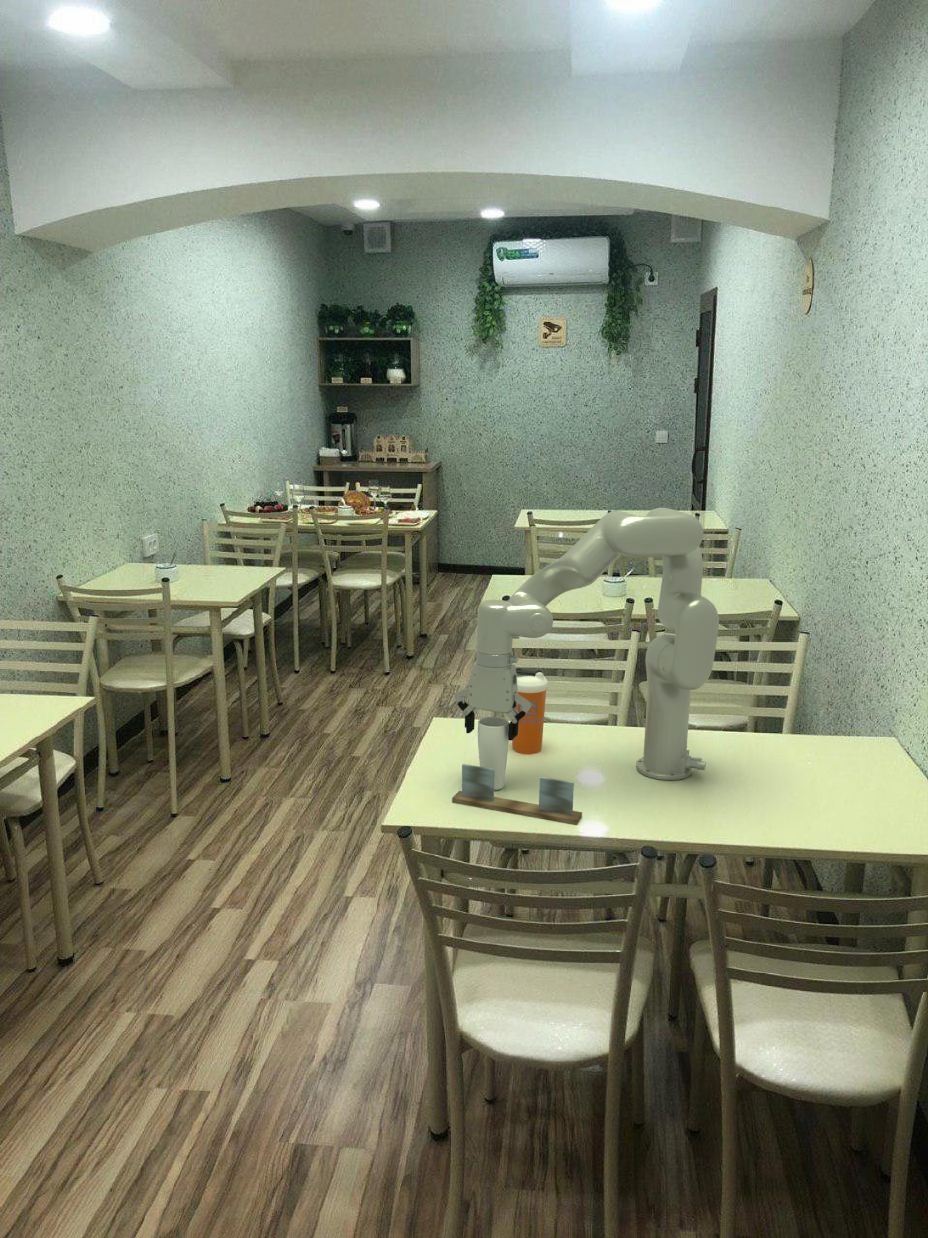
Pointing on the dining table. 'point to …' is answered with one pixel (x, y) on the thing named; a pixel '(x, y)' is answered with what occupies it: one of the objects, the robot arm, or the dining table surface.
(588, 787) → the dining table surface
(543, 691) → the shaker bottle
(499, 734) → the drinking glass
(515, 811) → the stand
